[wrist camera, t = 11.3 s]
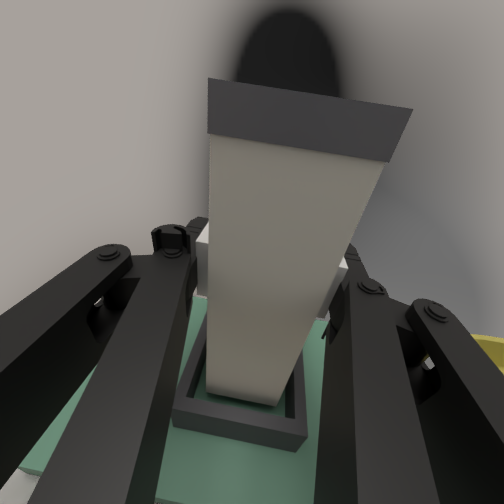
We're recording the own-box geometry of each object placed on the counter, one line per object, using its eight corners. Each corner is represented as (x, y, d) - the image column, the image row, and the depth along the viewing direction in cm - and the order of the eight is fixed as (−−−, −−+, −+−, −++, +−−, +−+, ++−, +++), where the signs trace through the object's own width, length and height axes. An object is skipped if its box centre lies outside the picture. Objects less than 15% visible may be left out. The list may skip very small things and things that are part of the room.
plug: (279, 342, 16) (357, 106, 8) (276, 407, 12) (413, 109, 4) (222, 330, 16) (242, 88, 8) (204, 392, 12) (208, 78, 4)
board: (360, 339, 20) (380, 310, 18) (429, 564, 10) (492, 562, 8) (148, 299, 21) (142, 266, 19) (25, 472, 11) (-20, 447, 9)
